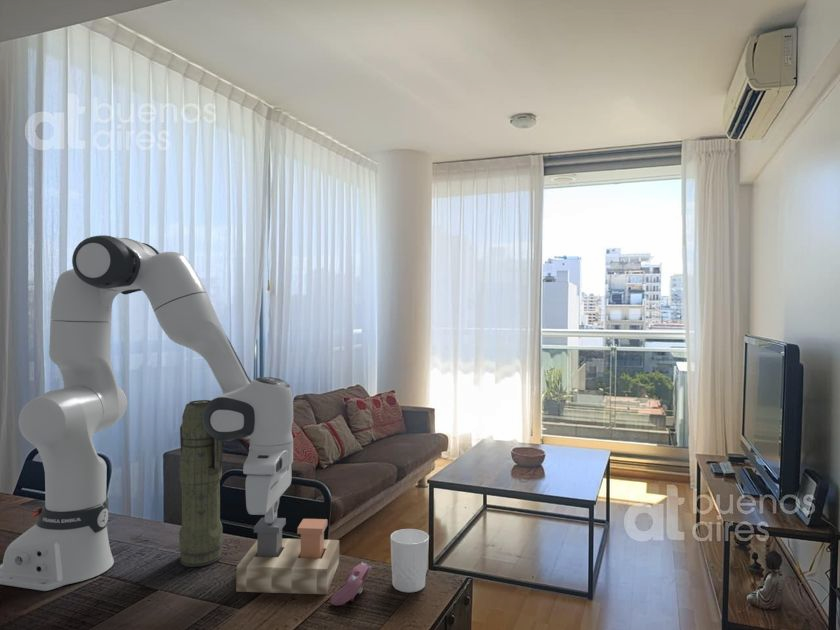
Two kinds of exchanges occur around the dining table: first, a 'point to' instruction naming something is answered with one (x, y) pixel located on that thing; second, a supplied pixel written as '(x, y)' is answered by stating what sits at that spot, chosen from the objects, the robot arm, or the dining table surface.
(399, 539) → the white cup
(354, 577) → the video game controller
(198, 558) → the thermos
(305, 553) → the terracotta plug
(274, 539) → the charcoal plug
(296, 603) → the dining table surface
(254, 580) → the socket block
